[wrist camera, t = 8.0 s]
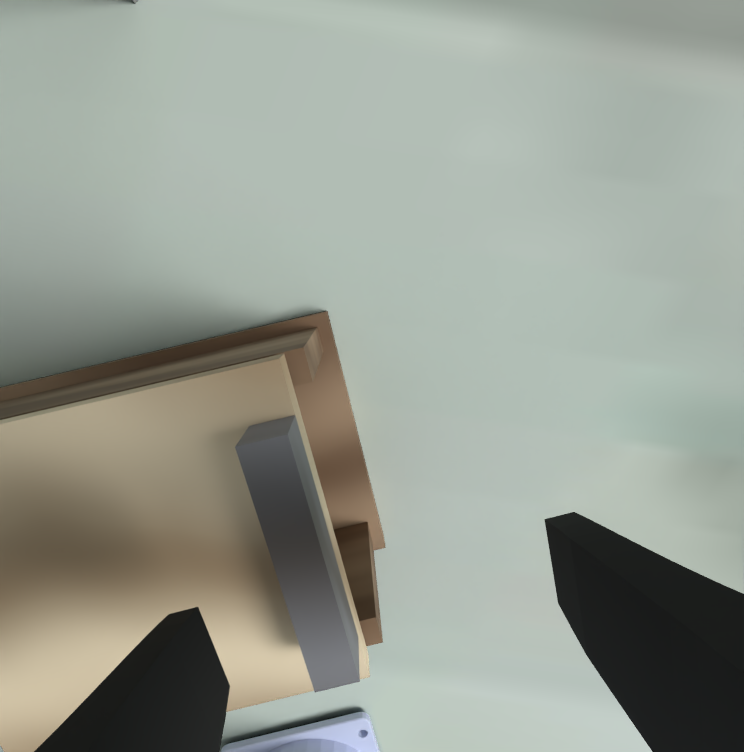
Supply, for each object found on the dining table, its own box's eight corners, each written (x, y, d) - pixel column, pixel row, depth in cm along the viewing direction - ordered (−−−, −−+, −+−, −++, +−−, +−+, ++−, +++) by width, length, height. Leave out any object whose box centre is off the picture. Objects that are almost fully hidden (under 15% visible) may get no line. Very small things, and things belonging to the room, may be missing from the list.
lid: (368, 653, 13) (372, 725, 11) (31, 735, 13) (-31, 823, 11) (283, 353, 11) (269, 369, 9) (-124, 448, 11) (-239, 489, 9)
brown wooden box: (383, 537, 20) (400, 651, 14) (-121, 658, 20) (-334, 829, 13) (327, 310, 17) (316, 325, 11) (-251, 446, 17) (-585, 537, 11)
